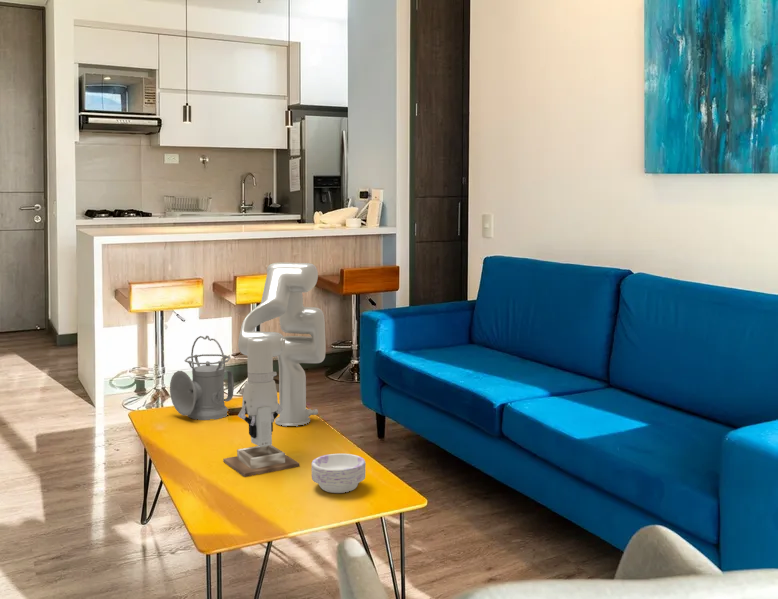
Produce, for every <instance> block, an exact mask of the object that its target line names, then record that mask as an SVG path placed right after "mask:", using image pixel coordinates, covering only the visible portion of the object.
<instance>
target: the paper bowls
mask: <svg viewBox="0 0 778 599" xmlns="http://www.w3.org/2000/svg"><path fill="white" fill-rule="evenodd" d="M366 463H367V462H366V459H365V458H363V457H361V456H359V455H357V454H351V453H330V454H323V455H320V456H318V457H316V458H314V459H313V460H312V462H311V479H312V481H313V482H314V483H316V484H318V486H319V488H320V489H322V490H323V491H325V492H327V493H331V494H344V493H345V492H346V493H349V491H350V492H352V491H354V490H355V489H357V487H358V485H359V483H360V482H363V481H364V480H365V478H366Z"/></svg>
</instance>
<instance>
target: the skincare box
mask: <svg viewBox="0 0 778 599" xmlns="http://www.w3.org/2000/svg"><path fill="white" fill-rule="evenodd" d="M255 425H256V438H253V437H251V436H250V441H251V444H254V445H256V446H260V447H265V446H269V445H272V446H273V438H272V437H273V436H272V435H273V432H272V431H271V407H270V406H269V407H261V408H258V413H257V416H256V419H255Z"/></svg>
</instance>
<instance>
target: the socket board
mask: <svg viewBox="0 0 778 599" xmlns="http://www.w3.org/2000/svg"><path fill="white" fill-rule="evenodd" d="M236 452H237V456H232V457H225V458H223V461H222V462H223V463H224V462H225V463H224V464H225V465H227V466H228V467H230V468H231V467H232V468H231V469H233V470H234V471H235V470H236V472H237V473H238V474H239V475H241V476H242V477H244V478H247V477H253V476H257V475H256V474H258V475H261V474H266V473H267V474H268V473H272V472H277V471H282V470H287V469H293V468H298V467H300V462H298V461H297V460H295V459H294V458H292V457H290V456H288V455H287V454H286V453H285V452H284V451H282V450H281V449H279V448H277V447H276V446H274V445H273V444H272V445H269V446H265V447H260V446H258V445H256V446H251V447H244V448H239V449H238V448H237V450H236ZM252 475H253V476H252Z"/></svg>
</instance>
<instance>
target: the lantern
mask: <svg viewBox="0 0 778 599" xmlns="http://www.w3.org/2000/svg"><path fill="white" fill-rule="evenodd" d="M199 339H203V340H208V341H214V342H215V343H216V344H217V346H218V348H219V350H220V353H221V354H220V353H215V354H213V353H211V354H210V353H209V354H208V353H207V354H204V353H202V354H195V355H194V348H195V346H196V343H197V341H198V340H199ZM199 357H222V360H218V361H214V362H210V361H208V360H207V361H206V362H200V361H199V359H198V358H199ZM189 359H191V360H189ZM230 359H231V356H228V355H226V354H224V352H223V348H222V346H221V344H220V343H219V342H218V340H217V339H216V338H210V336H209V335H205V336H202V335H200V336H197V337H196V338H195V339H194V341H193V343H192V346H191V354H190V356H187V357H186V358H184V362H185V363H187V364H189V367H190V368H191V370H192V371H191V372H192V374H191V375H192V376H191V377H192V379H191V377H190V376H189V374H188V373H186V372H185V371H183V370H177V371H176V372H174V373H173V374H172V376H171V379H170V381H169V382H170V383H169V393H170V394H169V396H170V399H171V403H172V404H173V407H174V409H175V410H176V412H177V413H178V414H180V415H182V416H187V417H188V418H189V419H192V420H197V419H198V420H199V421H211V420H210V419H214V420H220V419H224V418H227V417H228V416H227V411H229V408H228V407H227V406H226V405H225V403H226V402H230V401H231V400H232V399H233V396H234V392H235V391H234V388H235V385H234V384H235V383H234V375H233V373H232V371H230V370H228V369H226V363H228V362H229V361H230ZM194 360H195V361H194ZM217 364H218V365H217ZM195 365H197V366H195ZM225 373H227V397H226V398H225V388H224V386H225V384H224V383H225V380H224V379H225ZM226 416H227V417H226ZM223 417H224V418H223ZM219 418H220V419H219Z"/></svg>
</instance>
